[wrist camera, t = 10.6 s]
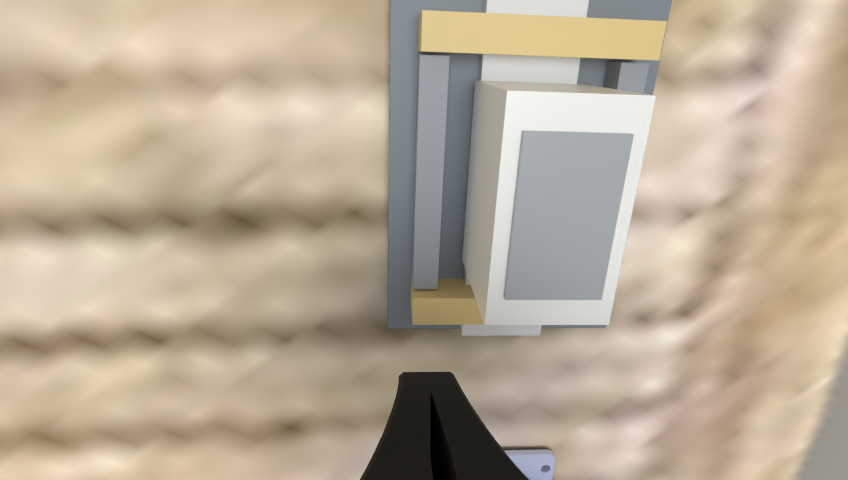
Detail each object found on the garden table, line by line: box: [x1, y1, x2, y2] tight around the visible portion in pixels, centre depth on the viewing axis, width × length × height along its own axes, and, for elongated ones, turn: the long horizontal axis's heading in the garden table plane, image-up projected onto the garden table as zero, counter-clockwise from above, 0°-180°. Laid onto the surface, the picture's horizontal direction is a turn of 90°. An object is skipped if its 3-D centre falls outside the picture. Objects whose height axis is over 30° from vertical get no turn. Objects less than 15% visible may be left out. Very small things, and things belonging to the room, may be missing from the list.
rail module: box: [462, 80, 656, 325], centre depth 16 cm, size 7×4×5 cm, turn 178°
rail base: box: [388, 0, 672, 336], centre depth 18 cm, size 14×10×3 cm
